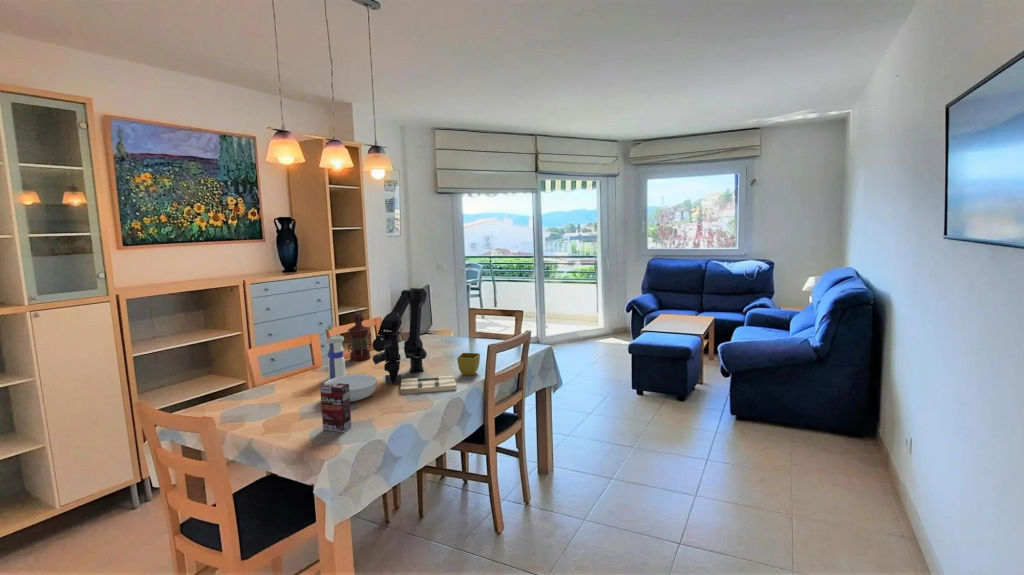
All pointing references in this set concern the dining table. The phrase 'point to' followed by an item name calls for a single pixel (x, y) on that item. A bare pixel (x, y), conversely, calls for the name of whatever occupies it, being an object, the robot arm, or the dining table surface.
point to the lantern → (359, 339)
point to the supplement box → (335, 407)
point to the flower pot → (468, 363)
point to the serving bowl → (357, 385)
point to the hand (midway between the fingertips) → (393, 380)
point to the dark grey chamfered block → (397, 381)
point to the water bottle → (335, 356)
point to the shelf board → (428, 384)
